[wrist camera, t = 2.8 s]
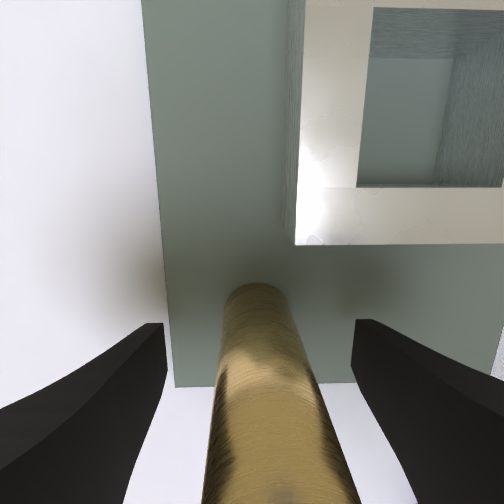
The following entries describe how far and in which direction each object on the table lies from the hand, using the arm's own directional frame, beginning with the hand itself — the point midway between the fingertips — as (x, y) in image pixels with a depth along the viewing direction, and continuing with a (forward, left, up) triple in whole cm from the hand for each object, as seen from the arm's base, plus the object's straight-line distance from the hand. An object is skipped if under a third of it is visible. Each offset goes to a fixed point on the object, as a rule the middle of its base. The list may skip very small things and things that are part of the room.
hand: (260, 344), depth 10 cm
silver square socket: (-5, -8, -2) cm, 10 cm away
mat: (-4, -5, -3) cm, 7 cm away
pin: (0, 0, -2) cm, 2 cm away
